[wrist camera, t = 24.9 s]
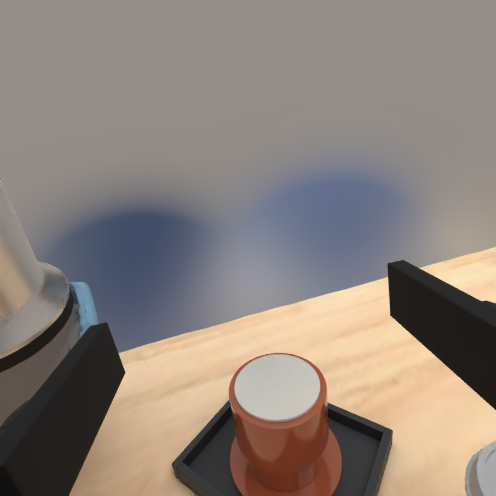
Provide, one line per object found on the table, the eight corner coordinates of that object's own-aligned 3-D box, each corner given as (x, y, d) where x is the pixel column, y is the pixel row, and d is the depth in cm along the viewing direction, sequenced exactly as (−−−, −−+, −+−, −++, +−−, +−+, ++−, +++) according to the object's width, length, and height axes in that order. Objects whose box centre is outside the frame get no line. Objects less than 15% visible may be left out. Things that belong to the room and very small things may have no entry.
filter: (361, 511, 27) (362, 427, 24) (231, 532, 27) (213, 450, 24) (320, 400, 39) (317, 334, 36) (230, 414, 39) (218, 348, 36)
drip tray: (175, 476, 33) (171, 463, 32) (255, 382, 44) (254, 371, 44) (343, 617, 22) (342, 602, 21) (392, 443, 33) (392, 430, 33)
